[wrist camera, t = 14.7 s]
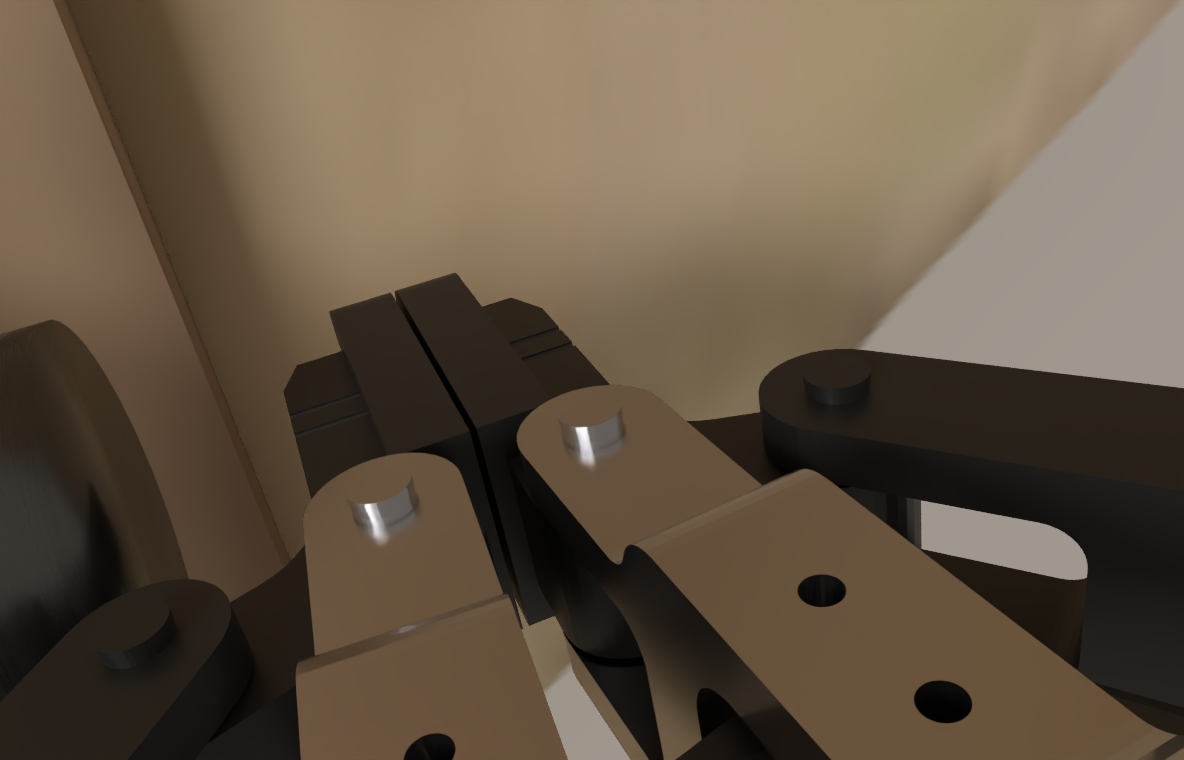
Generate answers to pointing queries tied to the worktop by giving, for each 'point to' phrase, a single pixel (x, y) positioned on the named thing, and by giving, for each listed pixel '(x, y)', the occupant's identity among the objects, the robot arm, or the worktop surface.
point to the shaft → (69, 497)
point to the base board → (118, 292)
